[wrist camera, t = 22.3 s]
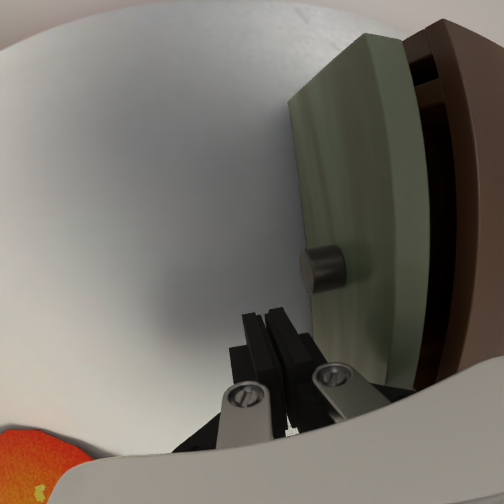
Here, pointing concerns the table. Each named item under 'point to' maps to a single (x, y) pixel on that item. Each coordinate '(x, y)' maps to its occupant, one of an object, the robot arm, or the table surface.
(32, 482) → the toy strawberry
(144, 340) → the table surface
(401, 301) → the drawer
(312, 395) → the robot arm
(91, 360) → the table surface
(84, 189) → the table surface
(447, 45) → the cabinet
